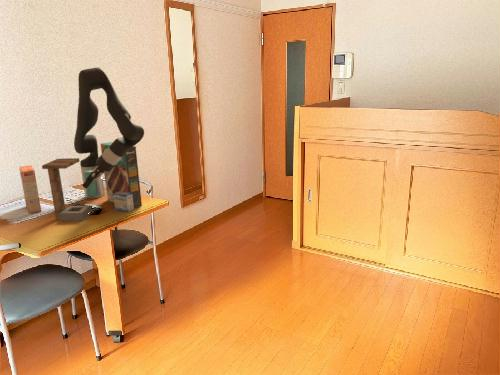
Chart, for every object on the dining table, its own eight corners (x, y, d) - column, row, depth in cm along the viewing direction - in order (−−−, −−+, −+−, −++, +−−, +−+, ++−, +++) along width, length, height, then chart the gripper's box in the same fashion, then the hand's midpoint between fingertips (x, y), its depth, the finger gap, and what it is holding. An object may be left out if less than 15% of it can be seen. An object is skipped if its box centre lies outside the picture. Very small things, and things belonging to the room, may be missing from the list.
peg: (92, 193, 181) (89, 170, 178) (98, 194, 179) (95, 171, 176) (85, 195, 178) (81, 172, 175) (91, 196, 176) (87, 173, 173)
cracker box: (42, 211, 190) (34, 169, 185) (28, 214, 187) (20, 171, 181) (39, 204, 202) (32, 164, 196) (26, 206, 199) (18, 166, 193)
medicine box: (114, 210, 190) (112, 193, 187) (120, 207, 194) (118, 190, 191) (128, 212, 187) (126, 194, 185) (134, 209, 191) (132, 192, 189)
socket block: (70, 213, 186) (69, 206, 185) (91, 213, 186) (90, 205, 185) (60, 221, 177) (59, 213, 176) (82, 221, 177) (81, 212, 176)
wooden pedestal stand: (66, 212, 188) (57, 158, 181) (86, 212, 188) (79, 158, 181) (52, 223, 175) (41, 165, 167) (74, 222, 175) (65, 165, 167)
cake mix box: (107, 200, 206) (100, 143, 197) (118, 197, 210) (111, 142, 202) (131, 208, 192) (124, 148, 184) (141, 205, 197) (135, 146, 188)
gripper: (108, 149, 180) (85, 175, 183) (96, 156, 166) (72, 184, 170) (121, 160, 181) (98, 186, 185) (110, 168, 168) (86, 195, 171)
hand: (86, 185), depth 177 cm, fingers closed on peg, 4 cm apart
